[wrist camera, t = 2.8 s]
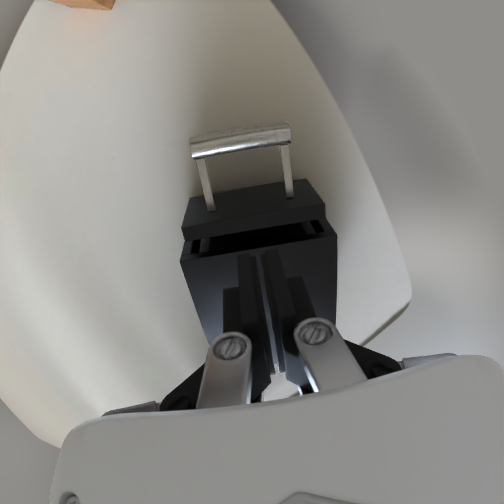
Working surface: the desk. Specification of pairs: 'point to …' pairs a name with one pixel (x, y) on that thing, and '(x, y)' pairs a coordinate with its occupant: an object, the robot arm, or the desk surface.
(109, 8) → the tan wooden cube
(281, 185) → the drawer with bar handle
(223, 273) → the black drawer unit
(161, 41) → the desk surface
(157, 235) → the desk surface
